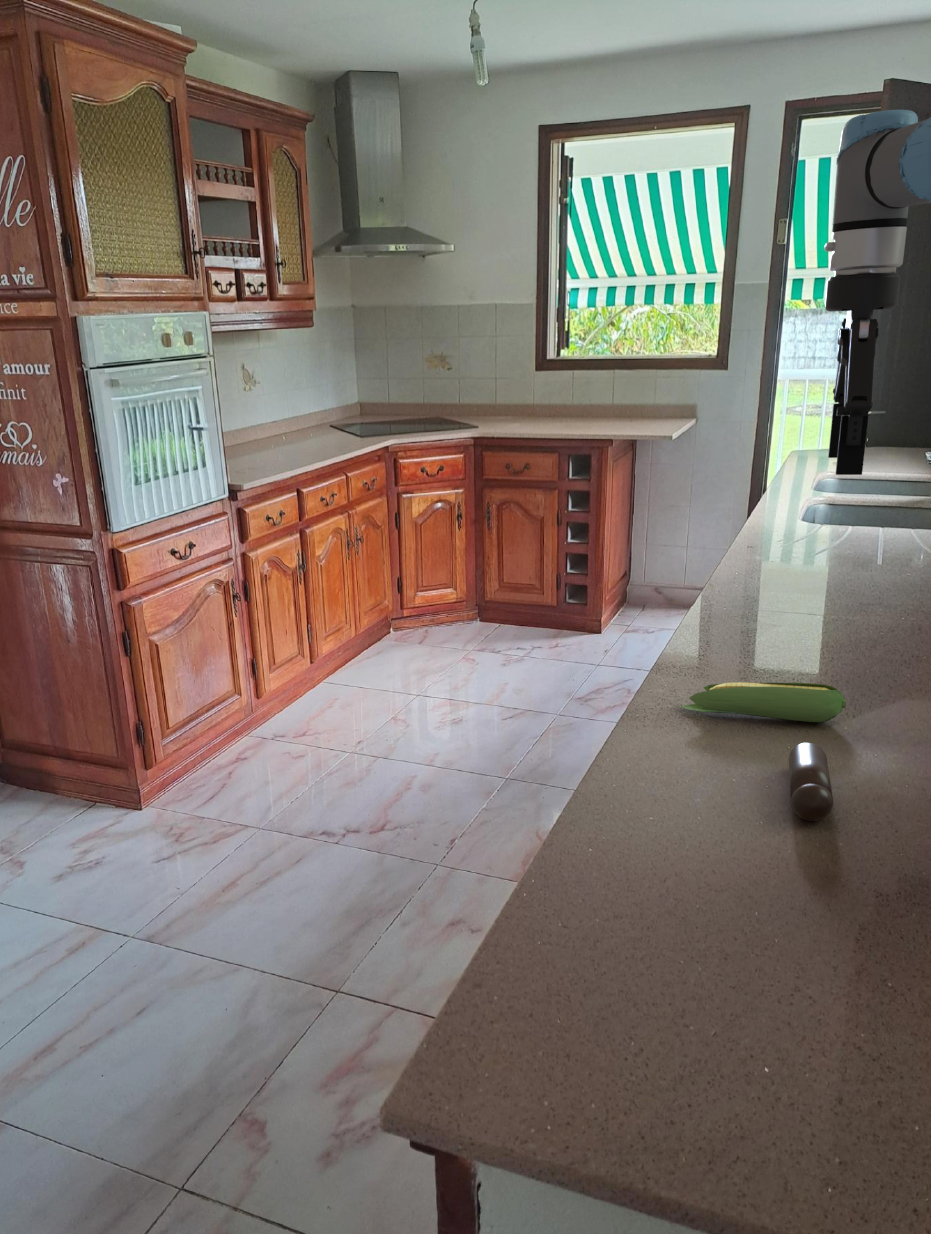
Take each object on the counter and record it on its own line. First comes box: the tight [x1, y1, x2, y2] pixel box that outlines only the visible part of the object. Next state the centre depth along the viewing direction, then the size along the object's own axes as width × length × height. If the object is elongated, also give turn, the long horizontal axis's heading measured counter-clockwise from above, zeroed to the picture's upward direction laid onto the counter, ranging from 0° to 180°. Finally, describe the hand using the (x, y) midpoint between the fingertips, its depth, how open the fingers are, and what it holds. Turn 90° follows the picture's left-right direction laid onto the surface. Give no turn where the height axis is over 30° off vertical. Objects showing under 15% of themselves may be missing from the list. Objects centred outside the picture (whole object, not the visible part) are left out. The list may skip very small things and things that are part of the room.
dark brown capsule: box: [788, 742, 834, 822], centre depth 103 cm, size 14×4×4 cm, turn 162°
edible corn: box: [679, 681, 847, 724], centre depth 124 cm, size 5×20×5 cm, turn 71°
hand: (844, 465), depth 115 cm, fingers open, 13 cm apart
